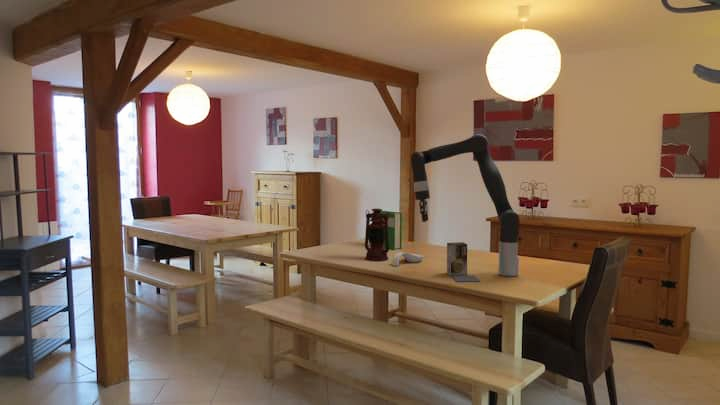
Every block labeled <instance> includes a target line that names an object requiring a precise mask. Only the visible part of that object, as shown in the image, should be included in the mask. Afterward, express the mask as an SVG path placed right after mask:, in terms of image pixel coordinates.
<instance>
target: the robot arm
mask: <svg viewBox="0 0 720 405" xmlns="http://www.w3.org/2000/svg"><path fill="white" fill-rule="evenodd" d="M468 153H472V154H473V156H474V158H475V160H476V162H477V165H478V168H479V172H480V176H481V178H482V181H483V185H484V186H485V188H486V191H487V193H488V195H489V198H490V199H491V201H492V203H493V205H494V207H495V211H496V214H497V218H498V221H499V224H500V231H499V232H500V233H499V237H498V266H497V267H498V269H497V271H498V275H500V276H504V277H515V276H519V260H520V259H519V256H518V252H519V250H518V246H519V244H518V243H519V242H518V241H519V236H520V235H519V234H520V221H521V220H520V216H519V214H518V213H517V212H515V211H514V210H513V209H514V208H512V205H511V204H510V202H509V200H508V195H507V190H506V185H505V182H504V180H503V177H502V175H501V173H500V172H501V171H500V170H499V169H498V168H499V167H497V165H496V164H495V162H494V160H493V158H492V156H491V152H490V151H489V140H488V138H487V137H486V136H485V135H483V134H481V133H476V134H474V135H472V136H471V137H469V138H466V139H464V140H462V141H458V142H457V141H456V142H454V143H448V144H443V145H438V146H435V147H431V148H429V149H427V150H423V151H414V152H413V153H412V154H411V155H410V163H411V164H410V165H411V171H412V180H413V191H414V198H415V199H414V200H415V201H418V200H419V202H418V205H419V213H420V215H421V221H422V223H424V222H425V223H426V222H427V221H429V207H428V200H429V199H430V198H431V197H430V196H431V195H430V187H429V182H428V176H427V171H426V164H430V163H433V162H439V161H442V160H445V159H450V158H452V157H455V156H459V155H463V154H468Z"/></svg>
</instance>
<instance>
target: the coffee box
mask: <svg viewBox="0 0 720 405" xmlns="http://www.w3.org/2000/svg"><path fill="white" fill-rule="evenodd" d="M446 273H447V274H448V275H449V276H451V275H468V243H465V242H464V241H463V242H461V241H459V242H457V241H456V242H447V243H446Z"/></svg>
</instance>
